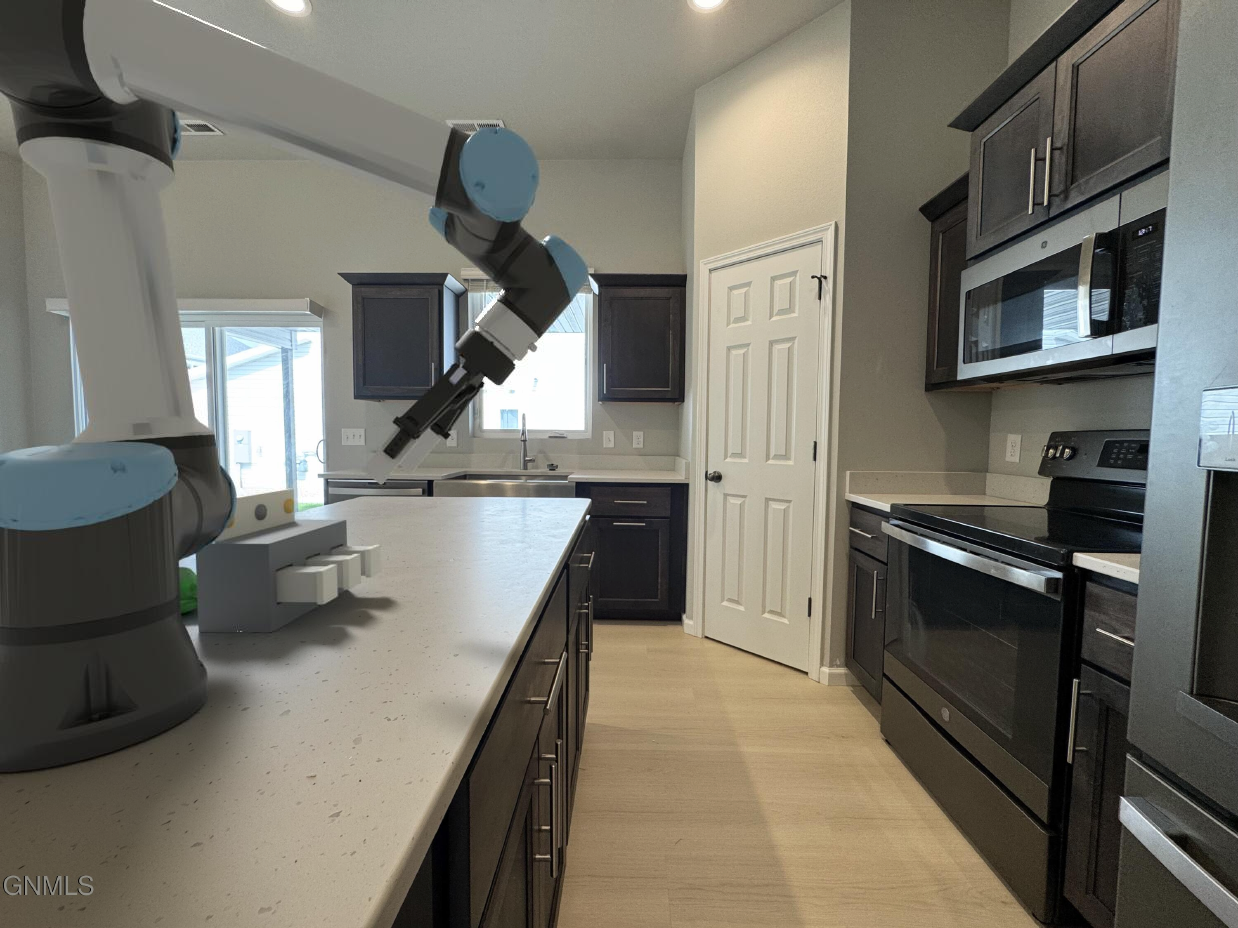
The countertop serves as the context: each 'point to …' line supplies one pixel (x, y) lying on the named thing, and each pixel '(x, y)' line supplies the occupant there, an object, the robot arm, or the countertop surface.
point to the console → (258, 575)
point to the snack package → (188, 589)
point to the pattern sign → (260, 513)
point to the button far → (363, 557)
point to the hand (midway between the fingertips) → (389, 471)
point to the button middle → (340, 568)
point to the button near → (306, 584)
